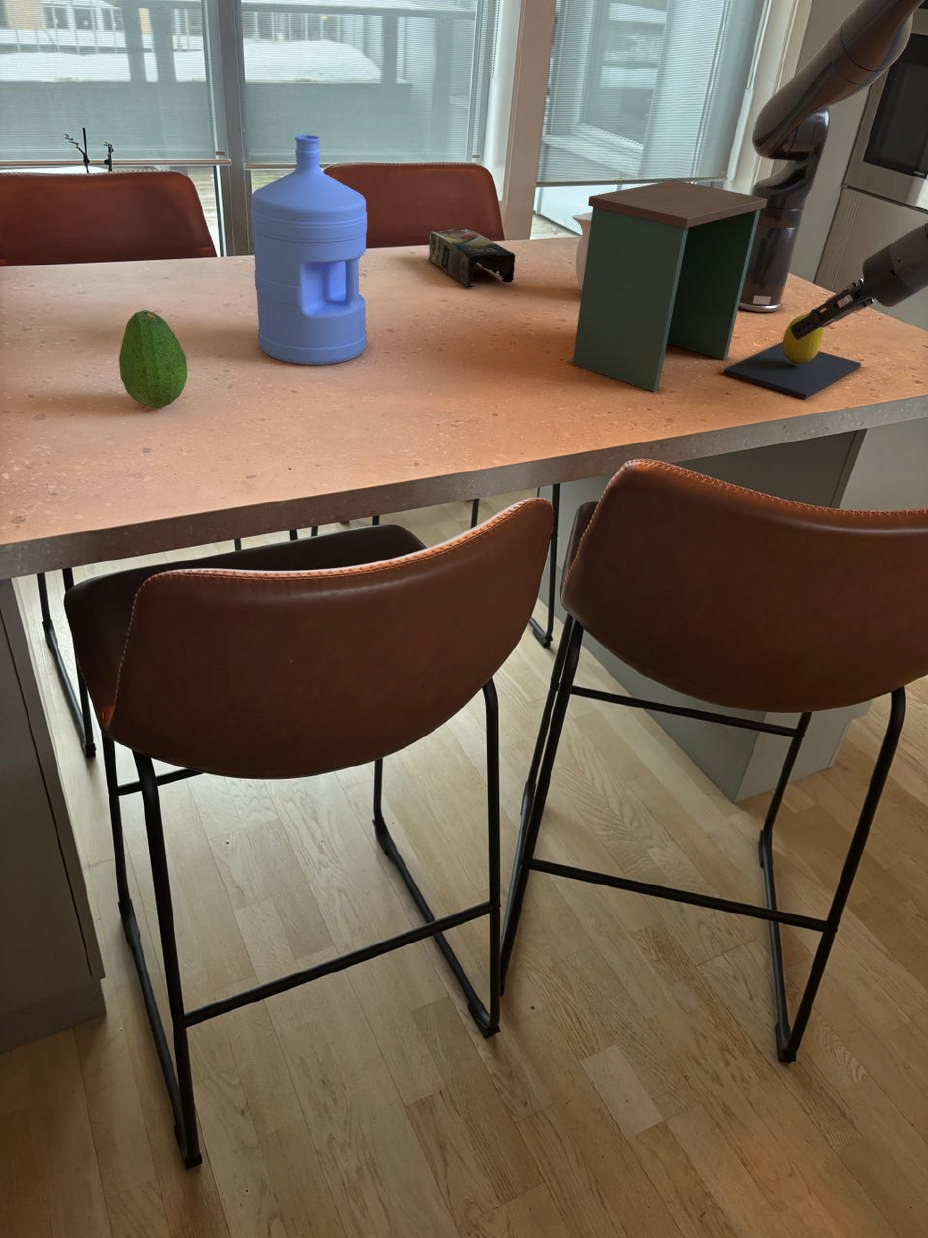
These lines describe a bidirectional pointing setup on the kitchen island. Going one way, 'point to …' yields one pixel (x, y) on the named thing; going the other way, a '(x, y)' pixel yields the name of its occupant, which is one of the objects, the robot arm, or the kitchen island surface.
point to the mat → (792, 371)
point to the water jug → (309, 264)
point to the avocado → (152, 361)
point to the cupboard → (662, 276)
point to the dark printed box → (469, 255)
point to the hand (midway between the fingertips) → (806, 327)
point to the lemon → (801, 344)
